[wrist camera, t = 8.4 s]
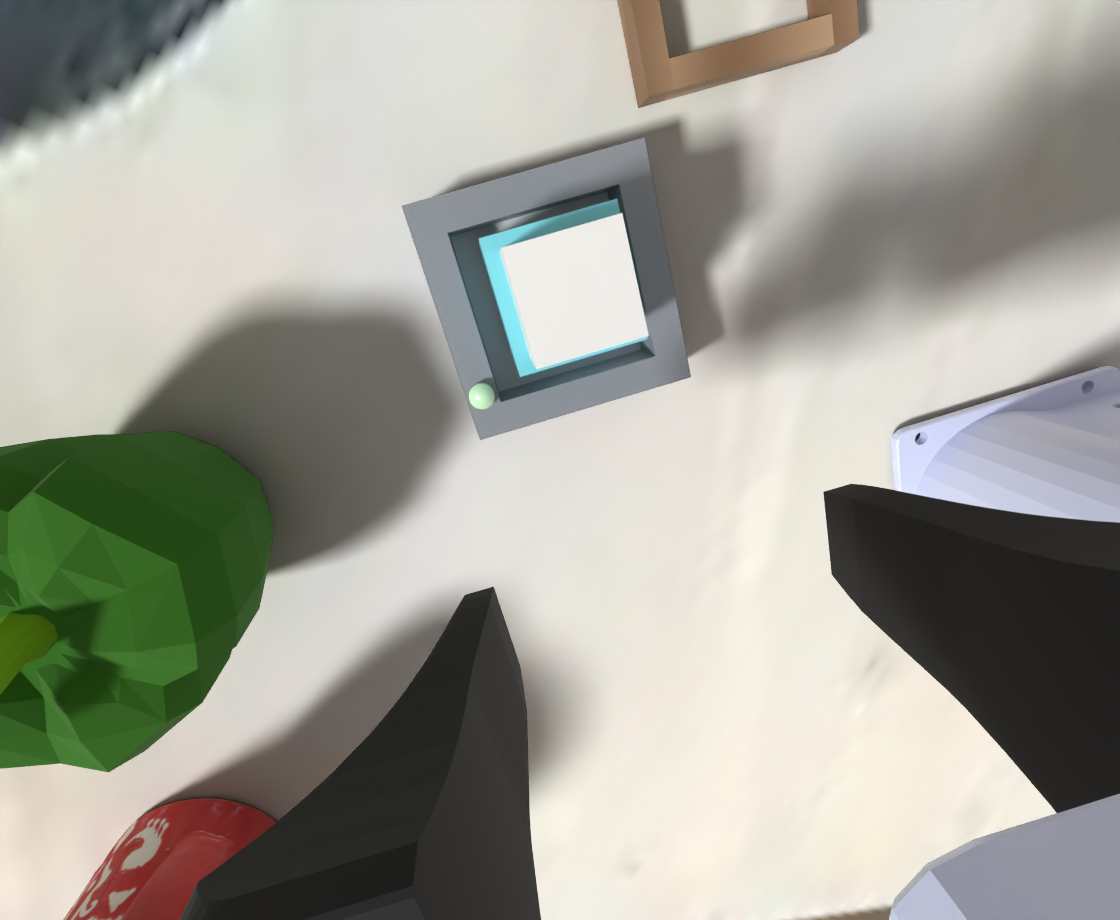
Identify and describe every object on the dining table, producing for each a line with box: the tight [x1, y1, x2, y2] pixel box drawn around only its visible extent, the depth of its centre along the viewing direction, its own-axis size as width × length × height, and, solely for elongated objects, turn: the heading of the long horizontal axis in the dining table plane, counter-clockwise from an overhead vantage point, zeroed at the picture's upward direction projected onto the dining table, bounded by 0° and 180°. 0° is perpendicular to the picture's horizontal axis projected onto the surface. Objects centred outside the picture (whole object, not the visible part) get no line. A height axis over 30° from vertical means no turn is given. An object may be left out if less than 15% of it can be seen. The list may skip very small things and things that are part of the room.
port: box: [402, 137, 691, 440], centre depth 18 cm, size 7×7×2 cm
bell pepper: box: [0, 432, 275, 772], centre depth 15 cm, size 8×8×10 cm
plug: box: [479, 199, 649, 377], centre depth 16 cm, size 4×4×6 cm
